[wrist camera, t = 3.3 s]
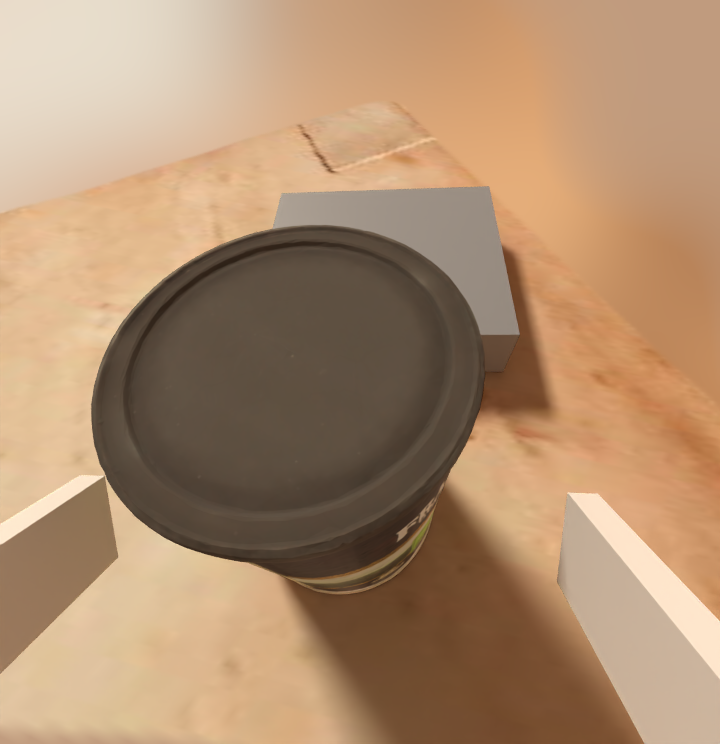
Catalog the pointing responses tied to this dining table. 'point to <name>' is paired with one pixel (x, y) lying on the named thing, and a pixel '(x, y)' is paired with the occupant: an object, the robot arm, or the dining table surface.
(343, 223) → the riser
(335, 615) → the dining table surface
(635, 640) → the robot arm
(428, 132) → the dining table surface
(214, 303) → the coffee can
